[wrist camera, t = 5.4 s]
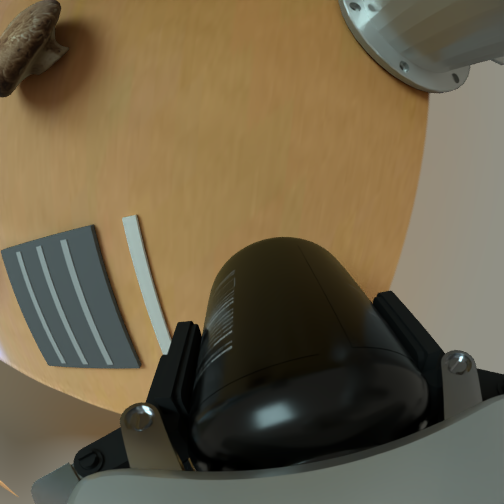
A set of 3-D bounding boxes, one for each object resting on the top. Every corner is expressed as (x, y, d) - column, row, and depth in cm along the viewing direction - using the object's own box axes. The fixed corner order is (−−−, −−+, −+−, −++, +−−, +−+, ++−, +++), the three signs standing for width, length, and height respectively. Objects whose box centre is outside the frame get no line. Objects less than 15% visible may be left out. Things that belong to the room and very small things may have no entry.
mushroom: (81, 46, 10) (2, 19, 5) (31, 126, 14) (-33, 114, 9) (95, 3, 12) (39, -20, 6) (46, 68, 15) (-4, 54, 10)
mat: (93, 224, 17) (89, 226, 16) (141, 364, 21) (139, 368, 20) (4, 249, 17) (-1, 251, 16) (50, 362, 20) (48, 366, 20)
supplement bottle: (256, 367, 15) (268, 573, 4) (183, 278, 13) (91, 547, 2) (364, 313, 14) (470, 509, 3) (311, 204, 12) (537, 464, 1)
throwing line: (136, 214, 17) (135, 215, 17) (179, 362, 21) (179, 364, 20) (123, 217, 17) (122, 218, 17) (168, 363, 21) (167, 365, 20)
